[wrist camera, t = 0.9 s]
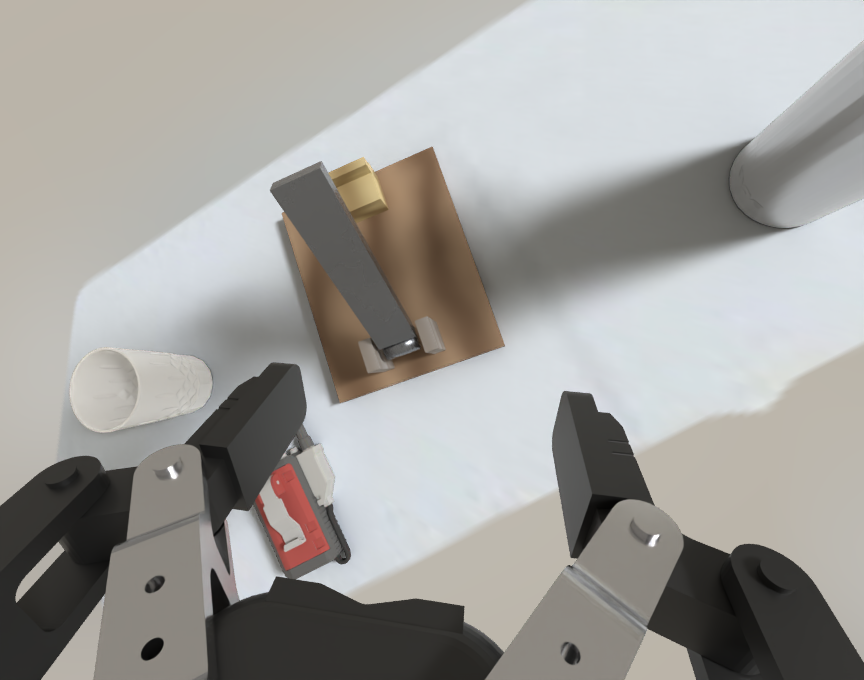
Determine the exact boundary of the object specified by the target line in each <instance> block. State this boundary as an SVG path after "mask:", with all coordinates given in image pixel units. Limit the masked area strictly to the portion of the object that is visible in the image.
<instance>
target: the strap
mask: <svg viewBox="0 0 864 680" xmlns="http://www.w3.org/2000/svg"><path fill="white" fill-rule="evenodd" d="M270 192H271V193H272V194H273V196H274V197H275V199H276V200H277V202H278V203H279V205H280V206H281V208H282V209H283V210H284V212H285V213H286V215H287V216H288V218H289V219H290V221H291V222H292V224H293V225H294V226H295V228H296V229H297V231H298V232H299V234H300V235H301V237H302V238H303V240H304V241H305V242H306V244H307V245H308V247H309V248H310V250H311V251H312V253H313V254H314V256H315V257H316V258H317V260H318V261H319V263H320V264H321V266H322V267H323V269H324V270H325V271H326V273H327V274H328V276H329V277H330V279H331V280H332V282H333V283H334V285H335V286H336V287H337V289H338V290H339V292H340V293H341V295H342V296H343V298H344V299H345V301H346V302H347V303H348V305H349V306H350V308H351V309H352V311H353V312H354V314H355V315H356V317H357V318H358V319H359V321H360V322H361V324H362V325H363V327H364V328H365V330H366V331H367V333H368V334H369V335H370V337H371V338H372V340H373V341H374V343H375V344H376V346H377V347H378V348H379V350H380V349H382V350H383V353H384V355H385V357H386V359H387V360H392V359H394V358H397V357H400V356H403V355H406V354H408V353H411V352H414V351H417V350H419V349H421V345H420V341H419V338H418V336H417V334H416V332H415V328H414V326H413V324H412V322H411V320H410V319H409V317H408V315H407V313H406V311H405V310H404V308H403V306H402V304H401V302H400V301H399V299H398V297H397V295H396V294H395V292H394V290H393V288H392V286H391V285H390V283H389V281H388V279H387V277H386V276H385V274H384V272H383V270H382V268H381V267H380V265H379V263H378V261H377V260H376V258H375V256H374V254H373V252H372V251H371V249H370V247H369V245H368V243H367V242H366V240H365V238H364V236H363V234H362V233H361V231H360V229H359V227H358V226H357V224H356V222H355V220H354V218H353V217H352V215H351V213H350V211H349V209H348V208H347V206H346V204H345V202H344V200H343V199H342V197H341V195H340V193H339V192H338V190H337V188H336V186H335V184H334V183H333V181H332V179H331V177H330V175H329V174H328V172H327V170H326V168H325V166H324V165H323V163H322V161H320V162H318V163H316V164H314V165H312V166H310V167H307V168H305V169H303V170H301V171H299V172H296V173H294V174H292V175H290V176H288V177H285V178H283V179H281V180H279V181H277V182H274V183H273V184H272V187H271V189H270Z"/></svg>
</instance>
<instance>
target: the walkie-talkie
mask: <svg viewBox="0 0 864 680" xmlns="http://www.w3.org/2000/svg"><path fill="white" fill-rule="evenodd" d="M296 435H297V437H298V439H299V441H298V442H299V444H300V446H301V449H302V450H301V451H299V450H298V449H297V447H295V448H293V449H291V450H289V451H290V454H289V455H286V453H284V454H283V456H282V458H281V459H280V461H279V462H278V464H277V466H276V467H275V469H274V471H273V472H272V474H271V475H270V477H269V479H268V480H267V482H266V484H265V485H264V487H263V488H262V490H261V492H260V493H259V495H258V497H257V498H256V500H255V502H254V503H253V504H254V507H255V509H256V511H257V514H258V516H259V518H260V520H261V522H262V524H263V527H264V528H265V532H266V533H267V536H268V537H269V539H270V540H269V541H270V542H271V544H272V547H273V549H274V552H275V553H276V557H277V558H278V561H279V562H280V566H281V567H282V569H283V572H284V574H285V576H286V577H287V578H289V579H297V578H299V577H301V576H303V575H305V574H307V573H309V572H311V571H313V570H315V569H317V568H319V567H321V566H323V565H325V564H327V563H329V562H331V561H332V560H334V559H335V560H336V561H337V562H338V563H339V564H346V563H347V562H348V561H349V560H350V557H351V553H350V548H349V546H348V544H347V542H346V539H345V538H344V534H343V533H342V530H341V529H340V526H339V525H338V523H337V522H338V521H337V520H336V518H335V515H334V513H333V505H332V503H333V502H334V499H333V497H332V495H333V488H334V482H335V475H334V473H333V471H332V469H331V467H330V465H329V463H328V461H327V458H326V456H325V454H324V452H323V450H324V449H323V447H322V445H321V443H320V444H318V445H316V446H314V444H313V442H312V439H311V437H310V436H308V434H307V432H306V430H305V428H304V426H303V424H302V425H301V427H300V428H299V430H298V431H297V433H296ZM342 550H344V552H345V555H346V558H342V557H341V556H340V554H339V553H340V552H341V551H342Z"/></svg>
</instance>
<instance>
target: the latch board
mask: <svg viewBox="0 0 864 680" xmlns="http://www.w3.org/2000/svg"><path fill="white" fill-rule="evenodd" d="M328 174H329V175H330V177H331V179H332V181H333V183H334V184H335V186H336V188H337V190H338V192H339V193H340V195H341V197H342V199H343V200H344V202H345V204H346V206H347V208H348V209H349V211H350V213H351V215H352V217H353V218H354V220H355V222H356V224H357V226H358V227H359V229H360V231H361V233H362V234H363V236H364V238H365V240H366V242H367V243H368V245H369V247H370V249H371V251H372V252H373V254H374V256H375V258H376V260H377V261H378V263H379V265H380V267H381V268H382V270H383V272H384V274H385V276H386V277H387V279H388V281H389V283H390V285H391V286H392V288H393V290H394V292H395V294H396V295H397V297H398V299H399V301H400V302H401V304H402V306H403V308H404V310H405V311H406V313H407V315H408V317H409V319H410V320H411V322H412V324H413V326H414V328H415V332H416V334H417V336H418V338H419V341H420V345H421V349H419V350H417V351H414V352H411V353H408V354H406V355H403V356H400V357H397V358H394V359H392V360H387V359H386V357H385V355H384V353H383V350H382V349H380V350H379V348H378V347H377V346H376V344H375V343H374V341H373V340H372V338H371V337H370V335H369V334H368V333H367V331H366V330H365V328H364V327H363V325H362V324H361V322H360V321H359V319H358V318H357V317H356V315H355V314H354V312H353V311H352V309H351V308H350V306H349V305H348V303H347V302H346V301H345V299H344V298H343V296H342V295H341V293H340V292H339V290H338V289H337V287H336V286H335V285H334V283H333V282H332V280H331V279H330V277H329V276H328V274H327V273H326V271H325V270H324V269H323V267H322V266H321V264H320V263H319V261H318V260H317V258H316V257H315V256H314V254H313V253H312V251H311V250H310V248H309V247H308V245H307V244H306V242H305V241H304V240H303V238H302V237H301V235H300V234H299V232H298V231H297V229H296V228H295V226H294V225H293V224H292V222H291V221H290V219H289V218H288V216H287V215H286V213H285V212H283V213H282V216H283V219H284V222H285V226H286V229H287V232H288V235H289V239H290V242H291V245H292V248H293V252H294V255H295V258H296V261H297V265H298V268H299V271H300V274H301V278H302V281H303V284H304V287H305V291H306V294H307V297H308V300H309V304H310V307H311V310H312V313H313V317H314V320H315V323H316V326H317V330H318V333H319V336H320V340H321V343H322V346H323V349H324V353H325V356H326V359H327V362H328V366H329V369H330V372H331V375H332V379H333V382H334V385H335V388H336V392H337V395H338V398H339V401H340V403H342V402H346V401H349V400H352V399H355V398H357V397H360V396H363V395H366V394H369V393H372V392H375V391H378V390H380V389H383V388H386V387H389V386H392V385H395V384H398V383H400V382H403V381H406V380H409V379H412V378H415V377H418V376H421V375H423V374H426V373H429V372H432V371H435V370H438V369H441V368H443V367H446V366H449V365H452V364H455V363H458V362H461V361H464V360H466V359H469V358H472V357H475V356H478V355H481V354H484V353H486V352H489V351H492V350H495V349H498V348H501V347H504V346H505V345H504V342H503V339H502V336H501V334H500V331H499V328H498V325H497V323H496V320H495V317H494V314H493V312H492V309H491V306H490V303H489V301H488V298H487V295H486V292H485V290H484V287H483V284H482V281H481V279H480V276H479V273H478V270H477V268H476V265H475V262H474V259H473V257H472V254H471V251H470V248H469V246H468V243H467V240H466V237H465V235H464V232H463V229H462V226H461V224H460V221H459V218H458V215H457V213H456V210H455V207H454V204H453V202H452V199H451V196H450V194H449V191H448V188H447V185H446V183H445V180H444V177H443V174H442V172H441V169H440V166H439V163H438V161H437V158H436V155H435V152H434V150H433V147H430V148H428V149H426V150H423V151H421V152H419V153H417V154H414V155H412V156H410V157H408V158H405V159H403V160H401V161H399V162H396V163H394V164H392V165H389V166H387V167H385V168H383V169H380V170H378V171H376V172H374V170H373V169H372V167H371V166H370V164H369V163H367V161H366V160H365V158H364V157H362V158H360V159H358V160H356V161H353V162H351V163H349V164H347V165H344V166H342V167H340V168H338V169H336V170H333V171H331V172H329V173H328Z"/></svg>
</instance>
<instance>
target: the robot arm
mask: <svg viewBox="0 0 864 680" xmlns="http://www.w3.org/2000/svg"><path fill="white" fill-rule="evenodd" d="M729 182H730V190H731V193H732V197H733V199H734V201H735V202H736V204H737V206H738V207H739V208H740V209H741V210H742V211H743V212H744V213H745V214H746V215H747V216H749V217H750V218H752V219H753V220H755V221H757V222H759V223H762V224H764V225H767V226H772V227H777V228H791V227H797V226H803V225H805V224H808V223H811V222H813V221H816V220H818V219H820V218H822V217H824V216H827V215H829V214H831V213H833V212H835V211H837V210H840V209H842V208H844V207H846V206H849V205H851V204H853V203H855V202H857V201H860V200H862V199H864V40H863V41H862V42H861V43H860V44H858V45H857V46H856V47H855V48H854V49H853V50H852V51H851V52H850V53H848V54H847V55H846V56H845V57H844V58H843V59H842V60H841V61H840V62H839V63H837V64H836V65H835V66H834V67H833V68H832V69H831V70H830V71H829V72H827V73H826V74H825V75H824V76H823V77H822V78H821V79H820V80H819V81H817V82H816V83H815V84H814V85H813V86H812V87H811V88H810V89H809V90H807V91H806V92H805V93H804V94H803V95H802V96H801V97H800V98H799V99H797V100H796V101H795V102H794V103H793V104H792V105H791V106H790V107H789V108H787V109H786V110H785V111H784V112H783V113H782V114H781V115H780V116H779V117H777V118H776V119H775V120H774V121H773V122H772V123H771V124H770V125H768V126H767V127H766V128H765V129H764V130H763V131H762V132H761V133H760V134H759V135H757V136H756V137H755V138H754V139H753V140H752V141H751V142H750V143H749V144H748V145H747V146H745V147H744V148H743V149H742V150H741V152H740V153H739V154H738V156H737V157H736V158H735V161H734V163H733V165H732V167H731V172H730V177H729ZM306 408H307V405H306V398H305V393H304V387H303V382H302V376H301V371H300V368H299V366H298V365H296V364H285V363H275V362H273V363H271V364H270V365H269V366H268V367H267V368H266V369H265V370H264V371H263V372H262V373H261V375H260V376H259V377H252V378H251V379H249V380H247V381H246V382H244V383H242V384H241V385H239V386H238V387H237V388H236V389H235V390H234V391H233V392H232V393H231V394H230V395H229V397H228V399H227V400H225V401H224V402H223V403H222V404H221V405H220V406H219V409H218V410H217V409H216V411H215V412H214V413H213V414H212V415H211V416H210V417H209V418H208V419H207V420H206V421H205V422H204V423H203V424H202V426H201V427H200V428H199V429H198V430H197V431H196V432H195V433H194V434H193V435H192V436H191V437H190V438H189V440H188V441H187V442H186V443H185V444H180V445H173V446H169V447H166V448H163V449H161V450H159V451H157V452H155V453H153V454H151V455H150V456H149V457H147V458H146V459H145V460H144V461H142V462H141V464H140V465H139V466H138V467H131V468H124V469H116V470H109V471H105V470H104V468H103V466H102V465H101V463H100V461H99V460H98V459H97V458H95V457H91V456H79V457H73V458H70V459H66V460H63V461H61V462H58V463H56V464H54V465H52V466H50V467H48V468H47V469H45V470H43V471H42V472H41V473H39V474H38V475H36V476H35V477H34V478H33V479H32V480H31V481H29V482H28V483H27V484H26V485H25V486H24V487H22V488H21V489H20V490H19V491H17V492H16V493H15V494H14V495H13V496H12V497H10V498H9V499H8V500H7V501H6V502H5V503H3V504H2V505H1V506H0V680H41V679H42V677H43V676H44V675H45V673H46V672H47V671H48V669H49V668H50V667H51V665H52V664H53V663H54V661H55V660H56V658H57V657H58V656H59V654H60V653H61V652H62V650H63V649H64V648H65V647H66V645H67V644H68V643H69V641H70V640H71V639H72V637H73V636H74V634H75V633H76V632H77V630H78V629H79V628H80V626H81V625H82V624H83V622H84V621H85V620H86V618H87V617H88V616H89V614H90V613H91V612H92V610H93V609H94V608H95V606H96V605H97V604H98V602H99V601H100V600H101V598H102V597H103V596H104V594H105V600H104V607H103V615H102V622H101V629H100V636H99V643H98V650H97V658H96V665H95V672H94V679H93V680H624V679H625V677H626V675H627V673H628V671H629V669H630V666H631V664H632V662H633V660H634V658H635V656H636V653H637V651H638V649H639V647H640V645H641V643H642V640H643V638H644V636H645V634H646V631H647V629H649V630H652V631H653V632H655V633H657V634H659V635H661V636H663V637H666V638H667V639H670V640H672V641H674V642H676V643H678V644H680V645H682V646H684V647H686V648H687V651H688V654H689V657H690V661H691V664H692V667H693V671H694V674H695V677H696V680H864V662H863V661H862V659H861V657H860V656H859V654H858V653H857V651H856V649H855V648H854V646H853V645H852V643H851V642H850V640H849V638H848V637H847V635H846V633H845V632H844V630H843V628H842V627H841V625H840V624H839V622H838V620H837V619H836V617H835V616H834V614H833V612H832V611H831V609H830V607H829V606H828V604H827V602H826V601H825V599H824V598H823V596H822V594H821V593H820V591H819V590H818V588H817V587H816V585H815V584H814V582H813V581H812V579H811V578H810V577H809V576H808V575H807V574H806V573H805V572H804V571H803V570H802V569H801V568H800V567H799V566H798V565H796V564H795V563H794V562H793V561H791V560H790V559H788V558H787V557H785V556H784V555H782V554H780V553H778V552H776V551H774V550H772V549H769V548H767V547H764V546H760V545H755V544H744V545H739V546H738V547H736V548H735V549H734V550H733V552H732V553H731V554H728V553H725V552H723V551H721V550H718V549H715V548H713V547H710V546H708V545H705V544H703V543H700V542H698V541H695V540H693V539H691V538H689V537H687V536H685V535H683V534H682V533H681V531H680V529H679V527H678V526H677V524H676V523H675V522H674V521H673V520H672V518H671V517H670V516H669V515H667V514H666V513H665V512H664V511H662V510H661V509H659V508H658V507H656V506H655V505H654V503H653V501H652V498H651V496H650V493H649V491H648V488H647V486H646V483H645V481H644V478H643V476H642V473H641V471H640V469H639V466H638V464H637V461H636V459H635V457H634V456H633V455H634V454H633V451H632V449H631V446H630V445H629V444H628V442H629V441H628V439H627V436H626V434H625V431H624V429H623V427H622V426H621V425H620V424H619V422H618V421H617V420H616V419H615V418H614V417H613V416H612V415H611V414H610V413H602V412H598V410H597V407H596V404H595V401H594V399H593V396H592V394H590V393H580V392H569V391H564V392H563V393H562V396H561V400H560V404H559V408H558V413H557V417H556V421H555V425H554V430H553V436H552V451H553V457H554V463H555V469H556V475H557V481H558V486H559V492H560V498H561V504H562V510H563V516H564V521H565V527H566V533H567V539H568V545H569V551H570V556H571V558H577V560H576V562H575V563H574V564H573V565H572V566H570V565H568V566H567V567H566V568H565V569H564V570H563V571H562V572H561V574H560V575H559V576H558V578H557V579H556V581H555V582H554V583H553V585H552V586H551V588H550V589H549V590H548V592H547V594H546V595H545V596H544V597H543V599H542V600H541V602H540V603H539V605H538V606H537V607H536V609H535V610H534V612H533V613H532V615H531V616H530V617H529V619H528V620H527V621H526V623H525V624H524V626H523V627H522V629H521V630H520V631H519V633H518V634H517V635H516V637H515V638H514V640H513V641H512V643H511V644H510V645H509V647H508V648H507V650H506V651H505V652H503V651H502V650H501V649H500V648H499V647H498V645H497V644H495V642H493V641H492V640H491V639H490V638H489V637H487V636H486V635H485V634H484V633H482V632H481V631H479V630H478V629H476V628H474V627H473V626H471V625H469V624H467V623H465V622H464V606H460V605H454V604H447V603H441V602H435V601H428V600H422V599H409V600H401V601H393V602H385V603H377V604H367V605H365V604H361V603H359V602H357V601H355V600H353V599H351V598H349V597H347V596H345V595H343V594H341V593H339V592H337V591H335V590H333V589H331V588H329V587H327V586H325V585H323V584H321V583H314V582H308V581H302V580H295V579H289V578H283V577H276V578H275V580H274V582H273V584H272V587H271V589H270V591H269V592H267V593H262V594H258V595H254V596H251V597H248V598H246V599H243V600H239V596H238V593H237V588H236V583H235V576H234V568H233V560H232V553H231V545H230V537H229V530H228V523H227V520H226V517H227V516H228V514H229V513H230V511H231V510H232V509H237V510H244V511H249V510H250V508H251V506H252V505H253V503H254V502H255V500H256V498H257V497H258V495H259V493H260V492H261V490H262V488H263V487H264V485H265V484H266V482H267V480H268V479H269V477H270V475H271V474H272V472H273V471H274V469H275V467H276V466H277V464H278V462H279V461H280V459H281V458H282V456H283V454H284V453H285V451H286V449H287V448H288V446H289V445H290V443H291V441H292V440H293V438H294V436H295V435H296V433H297V431H298V430H299V428H300V427H301V425H302V423H303V421H304V419H305V415H306ZM57 542H59V543H60V544H61V545H62V547H63V548H64V550H65V551H64V552H63V553H62V554H61V555H60V556H59V557H58V558H57V559H56V560H55V562H54V563H53V564H52V565H51V566H50V567H49V568H48V569H47V570H46V571H45V572H44V574H43V575H42V576H41V577H40V578H39V579H38V580H37V581H36V582H35V583H34V585H33V586H32V587H31V588H30V589H29V590H28V591H27V592H26V593H25V594H24V596H23V597H22V598H21V599H20V600H19V601H18V602H17V603H16V601H15V596H16V591H17V589H18V586H19V585H20V583H21V581H22V580H23V579H24V577H25V576H26V575H27V574H28V573H29V572H30V571H31V570H32V569H33V568H34V567H35V566H36V564H37V563H38V562H39V561H40V560H41V559H42V558H43V557H44V556H45V555H46V554H47V553H48V552H49V551H50V550H51V549H52V548H53V546H54V545H55V544H56V543H57Z"/></svg>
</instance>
